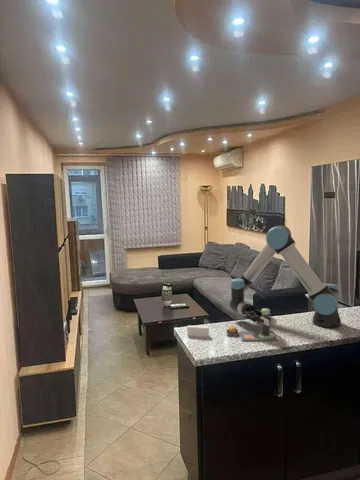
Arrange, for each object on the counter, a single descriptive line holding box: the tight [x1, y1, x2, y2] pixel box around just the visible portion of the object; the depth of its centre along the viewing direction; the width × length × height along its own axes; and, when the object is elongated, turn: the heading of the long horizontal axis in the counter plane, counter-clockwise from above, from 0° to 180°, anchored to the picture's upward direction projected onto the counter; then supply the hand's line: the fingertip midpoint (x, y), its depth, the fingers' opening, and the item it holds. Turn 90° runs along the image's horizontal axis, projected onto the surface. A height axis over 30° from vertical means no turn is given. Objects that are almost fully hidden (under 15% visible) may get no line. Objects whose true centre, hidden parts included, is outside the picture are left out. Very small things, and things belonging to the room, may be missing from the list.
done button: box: [228, 326, 237, 333], centre depth 190 cm, size 4×4×2 cm
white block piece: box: [186, 325, 210, 338], centre depth 190 cm, size 15×11×6 cm
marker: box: [261, 307, 271, 335], centre depth 184 cm, size 4×4×13 cm
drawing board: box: [239, 330, 279, 342], centre depth 185 cm, size 18×12×1 cm, turn 87°
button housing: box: [226, 328, 240, 337], centre depth 190 cm, size 6×6×2 cm
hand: (272, 322), depth 179 cm, fingers closed on marker, 4 cm apart
